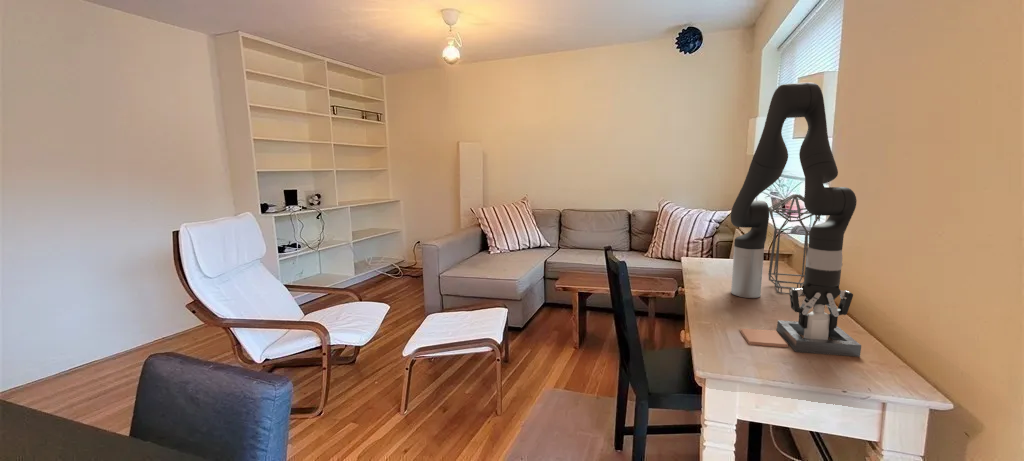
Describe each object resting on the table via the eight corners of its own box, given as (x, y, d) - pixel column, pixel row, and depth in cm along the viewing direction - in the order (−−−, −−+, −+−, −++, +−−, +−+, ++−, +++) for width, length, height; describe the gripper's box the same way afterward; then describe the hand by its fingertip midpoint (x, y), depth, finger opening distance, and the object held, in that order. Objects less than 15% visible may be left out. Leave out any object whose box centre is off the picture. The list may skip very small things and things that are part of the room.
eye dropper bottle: (830, 347, 112) (835, 302, 110) (804, 344, 114) (809, 300, 112) (825, 340, 116) (830, 297, 114) (800, 337, 118) (805, 295, 116)
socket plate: (776, 330, 124) (777, 320, 123) (833, 334, 120) (834, 323, 120) (795, 351, 110) (796, 340, 110) (859, 356, 107) (861, 345, 106)
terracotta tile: (740, 331, 124) (740, 328, 124) (775, 333, 122) (775, 330, 121) (748, 344, 115) (749, 341, 115) (787, 347, 113) (787, 344, 113)
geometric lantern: (765, 294, 155) (771, 195, 150) (763, 283, 169) (769, 192, 164) (819, 299, 148) (827, 195, 143) (812, 288, 161) (820, 193, 157)
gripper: (848, 263, 114) (841, 324, 117) (786, 261, 117) (781, 321, 120) (863, 270, 106) (855, 336, 109) (797, 268, 110) (791, 331, 113)
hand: (816, 327), depth 115 cm, fingers closed on eye dropper bottle, 5 cm apart
